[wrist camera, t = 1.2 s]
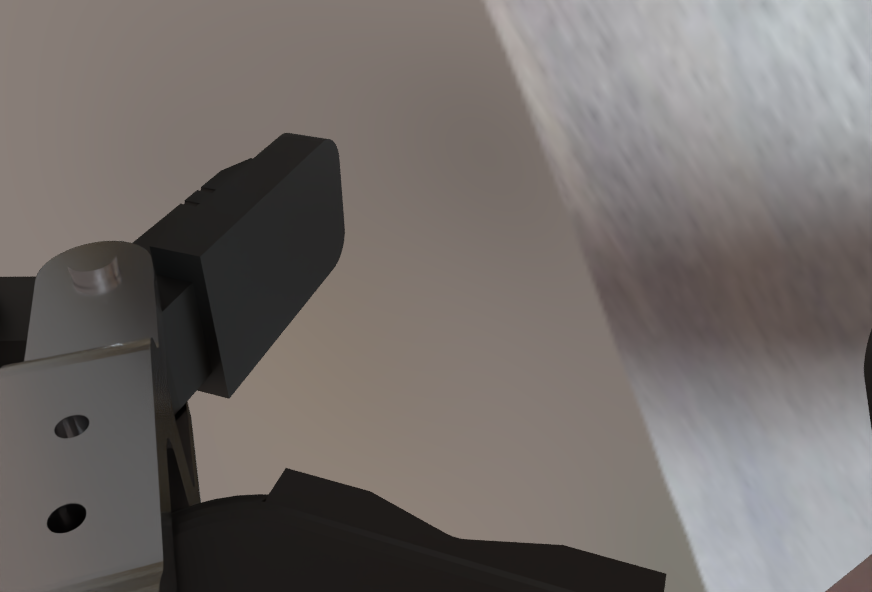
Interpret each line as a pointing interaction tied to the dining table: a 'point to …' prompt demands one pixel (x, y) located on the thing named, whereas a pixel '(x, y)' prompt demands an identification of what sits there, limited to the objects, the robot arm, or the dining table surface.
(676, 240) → the dining table surface
